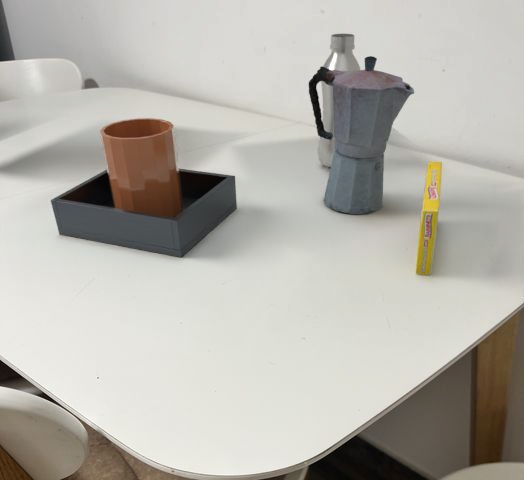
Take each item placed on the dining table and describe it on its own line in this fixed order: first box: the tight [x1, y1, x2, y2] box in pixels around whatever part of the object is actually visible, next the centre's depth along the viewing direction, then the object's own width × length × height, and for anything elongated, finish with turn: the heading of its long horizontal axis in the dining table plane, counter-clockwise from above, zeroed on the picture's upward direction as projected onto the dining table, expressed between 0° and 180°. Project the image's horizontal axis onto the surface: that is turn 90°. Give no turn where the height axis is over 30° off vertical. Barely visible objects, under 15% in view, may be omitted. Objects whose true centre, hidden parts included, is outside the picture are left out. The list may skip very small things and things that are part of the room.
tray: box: [50, 168, 238, 258], centre depth 81 cm, size 20×17×5 cm
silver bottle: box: [317, 33, 361, 168], centre depth 93 cm, size 6×7×20 cm
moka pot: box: [308, 55, 415, 215], centre depth 79 cm, size 10×15×20 cm, turn 60°
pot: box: [99, 117, 183, 218], centre depth 78 cm, size 9×9×12 cm
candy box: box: [415, 161, 443, 276], centre depth 71 cm, size 16×2×8 cm, turn 165°
